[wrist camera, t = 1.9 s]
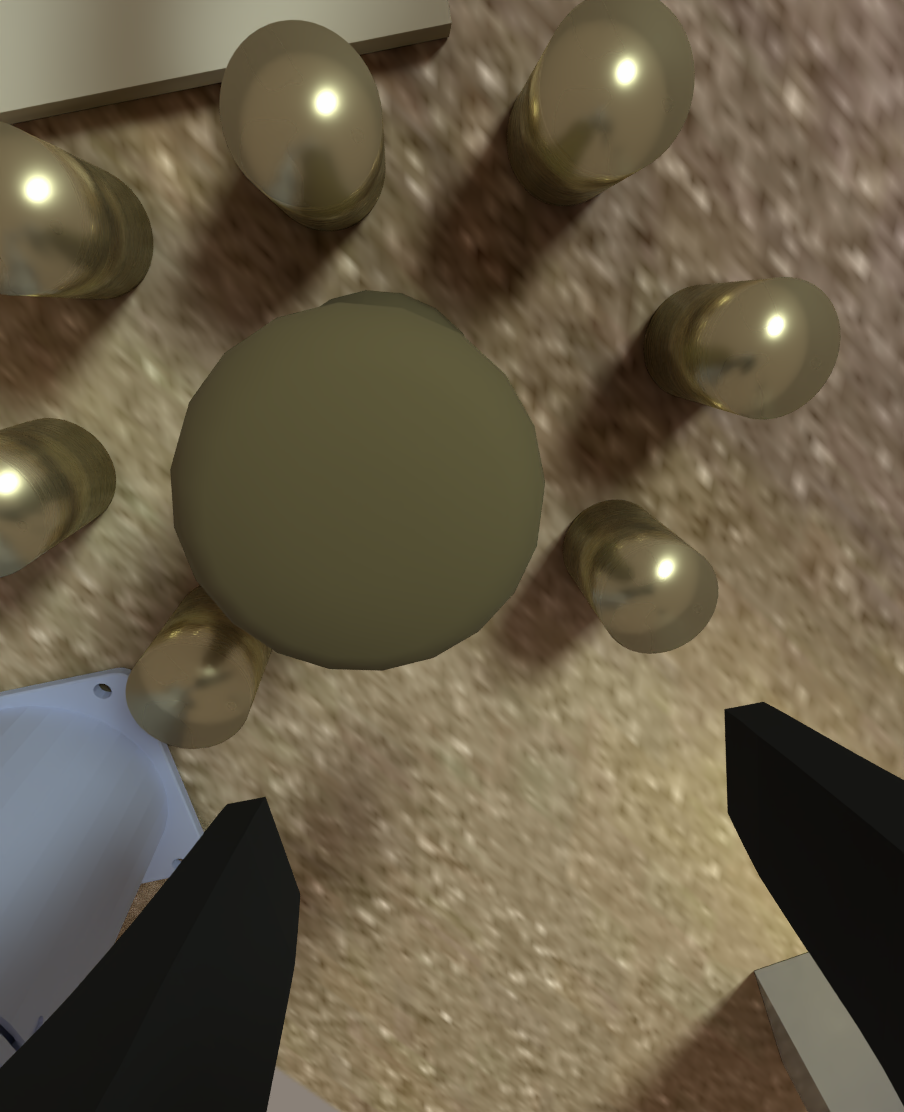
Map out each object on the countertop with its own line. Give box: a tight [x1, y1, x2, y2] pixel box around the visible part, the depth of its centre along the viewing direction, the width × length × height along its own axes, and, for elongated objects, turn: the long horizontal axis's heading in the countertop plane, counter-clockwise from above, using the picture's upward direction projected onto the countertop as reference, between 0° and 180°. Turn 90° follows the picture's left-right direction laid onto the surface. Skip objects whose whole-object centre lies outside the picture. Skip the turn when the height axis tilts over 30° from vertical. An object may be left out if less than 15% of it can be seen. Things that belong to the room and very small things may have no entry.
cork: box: [170, 290, 545, 670], centre depth 13 cm, size 6×6×11 cm
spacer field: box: [0, 0, 840, 749], centre depth 16 cm, size 21×14×4 cm
